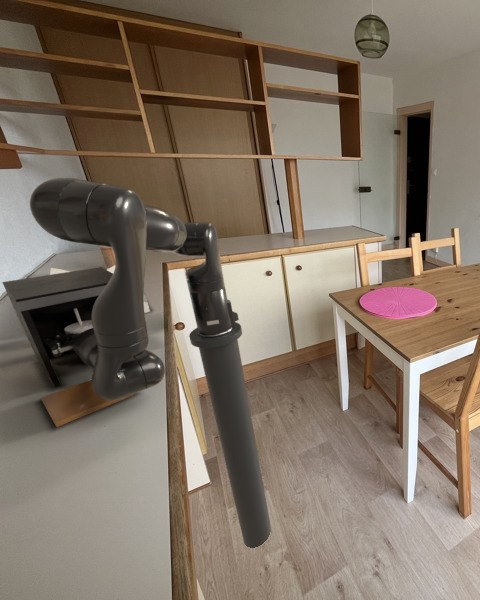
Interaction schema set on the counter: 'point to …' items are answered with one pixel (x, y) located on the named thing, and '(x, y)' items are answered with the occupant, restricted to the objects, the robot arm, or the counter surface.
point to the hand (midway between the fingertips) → (81, 328)
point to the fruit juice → (108, 256)
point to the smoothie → (78, 325)
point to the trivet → (74, 403)
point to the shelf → (54, 307)
